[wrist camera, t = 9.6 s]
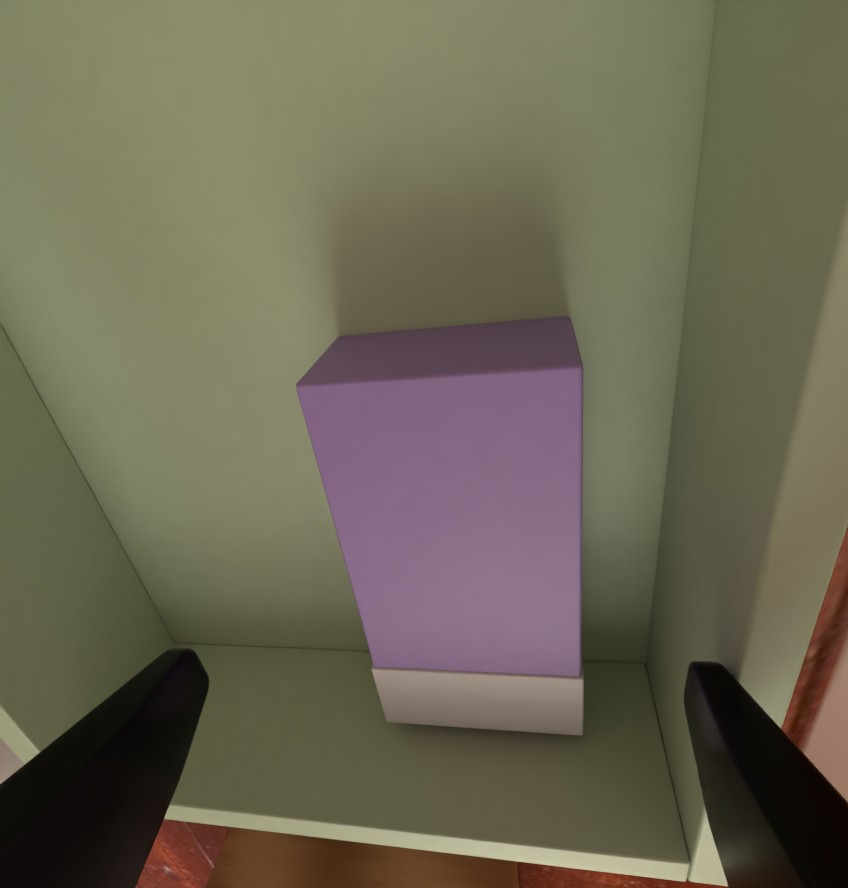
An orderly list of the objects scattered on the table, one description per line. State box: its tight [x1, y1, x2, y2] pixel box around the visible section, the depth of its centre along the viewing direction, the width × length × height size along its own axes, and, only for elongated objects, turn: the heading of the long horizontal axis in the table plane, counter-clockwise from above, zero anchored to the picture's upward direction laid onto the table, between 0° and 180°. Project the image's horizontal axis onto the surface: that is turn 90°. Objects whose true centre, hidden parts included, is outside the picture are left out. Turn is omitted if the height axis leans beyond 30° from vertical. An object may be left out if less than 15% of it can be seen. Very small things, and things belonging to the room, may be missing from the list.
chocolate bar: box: [296, 316, 584, 736], centre depth 11 cm, size 5×9×2 cm, turn 8°
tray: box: [0, 0, 848, 886], centre depth 9 cm, size 16×20×5 cm
